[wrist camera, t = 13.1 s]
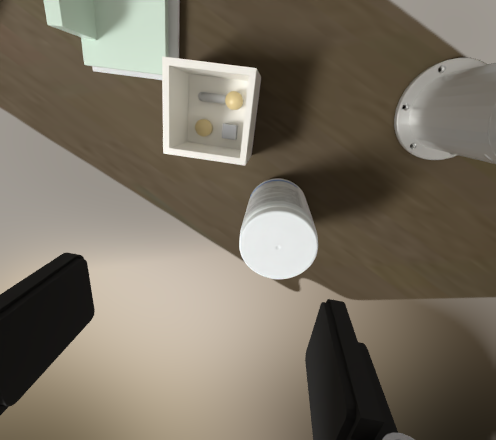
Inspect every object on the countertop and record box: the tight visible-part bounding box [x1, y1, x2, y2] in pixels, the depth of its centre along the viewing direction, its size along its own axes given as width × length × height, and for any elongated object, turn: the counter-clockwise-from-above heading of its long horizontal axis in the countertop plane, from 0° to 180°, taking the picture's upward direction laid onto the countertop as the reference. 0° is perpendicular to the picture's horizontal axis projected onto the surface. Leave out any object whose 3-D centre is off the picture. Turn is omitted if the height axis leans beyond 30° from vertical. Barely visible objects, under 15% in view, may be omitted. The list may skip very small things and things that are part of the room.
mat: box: [92, 0, 180, 80], centre depth 35 cm, size 13×13×1 cm
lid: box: [44, 0, 168, 75], centre depth 31 cm, size 12×12×8 cm
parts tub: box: [162, 56, 261, 165], centre depth 35 cm, size 11×11×8 cm
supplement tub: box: [239, 178, 318, 279], centre depth 36 cm, size 10×10×15 cm
